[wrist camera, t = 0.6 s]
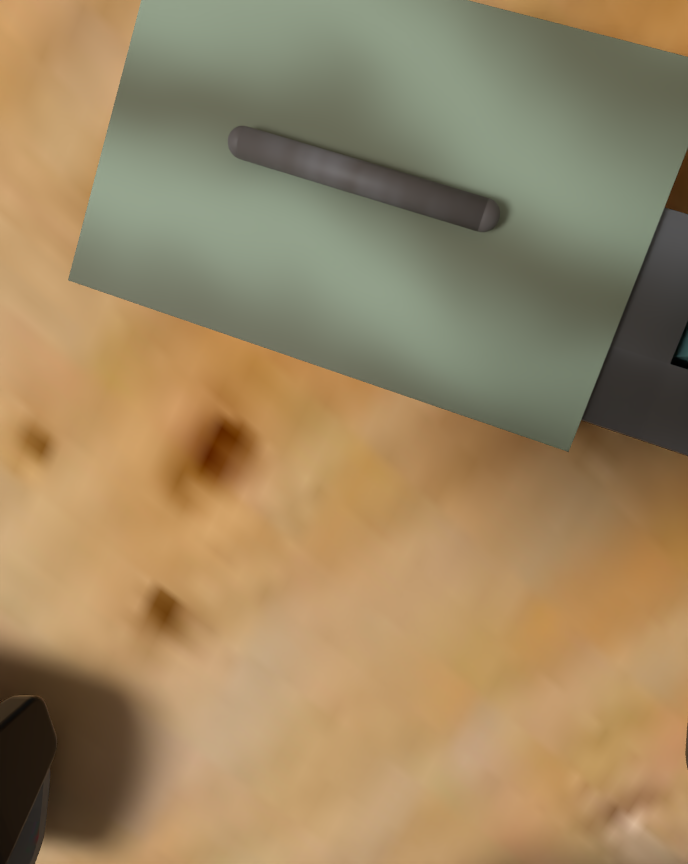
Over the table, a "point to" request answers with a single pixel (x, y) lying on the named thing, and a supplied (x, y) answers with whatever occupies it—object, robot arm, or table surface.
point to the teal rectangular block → (682, 351)
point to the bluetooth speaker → (32, 829)
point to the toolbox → (409, 203)
